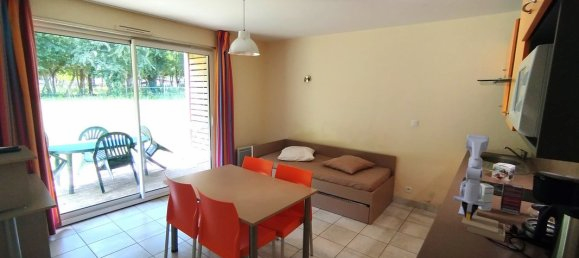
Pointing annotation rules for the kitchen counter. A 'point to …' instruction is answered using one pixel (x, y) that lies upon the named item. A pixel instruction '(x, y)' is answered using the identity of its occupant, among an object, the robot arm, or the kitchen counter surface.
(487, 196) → the syrup box
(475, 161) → the robot arm
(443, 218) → the kitchen counter surface
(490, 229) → the lid panel
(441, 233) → the kitchen counter surface
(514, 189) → the supplement box
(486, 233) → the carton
